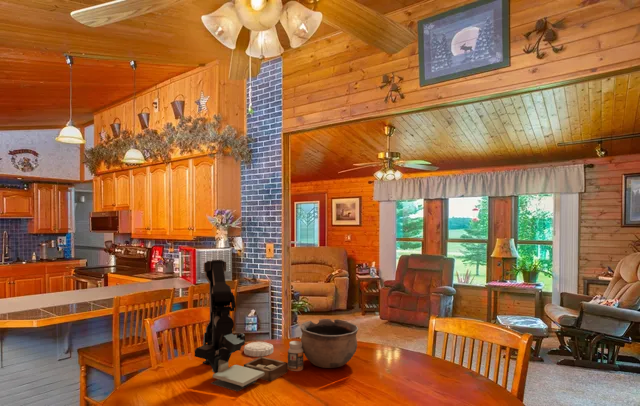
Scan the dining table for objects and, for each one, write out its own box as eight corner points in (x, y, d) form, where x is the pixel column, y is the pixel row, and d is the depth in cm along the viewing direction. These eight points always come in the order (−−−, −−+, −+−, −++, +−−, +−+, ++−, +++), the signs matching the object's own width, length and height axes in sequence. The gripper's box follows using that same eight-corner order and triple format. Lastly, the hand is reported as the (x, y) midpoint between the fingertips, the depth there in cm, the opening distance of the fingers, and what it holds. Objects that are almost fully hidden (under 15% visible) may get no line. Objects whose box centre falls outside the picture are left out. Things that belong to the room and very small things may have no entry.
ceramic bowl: (345, 353, 174) (345, 317, 175) (367, 372, 154) (367, 331, 154) (293, 358, 167) (294, 320, 168) (309, 378, 147) (310, 335, 147)
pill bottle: (301, 373, 152) (301, 345, 152) (285, 371, 153) (286, 344, 153) (304, 367, 157) (305, 340, 158) (289, 366, 158) (290, 339, 159)
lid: (204, 378, 141) (204, 365, 141) (227, 368, 150) (227, 356, 151) (242, 390, 132) (242, 376, 132) (264, 378, 142) (264, 366, 142)
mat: (210, 385, 140) (210, 383, 140) (231, 375, 149) (231, 373, 149) (237, 393, 134) (237, 391, 134) (257, 382, 142) (257, 380, 142)
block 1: (254, 374, 149) (254, 367, 149) (258, 371, 151) (258, 364, 152) (261, 375, 148) (261, 368, 148) (265, 372, 150) (265, 365, 150)
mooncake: (238, 353, 173) (238, 344, 173) (262, 347, 181) (262, 339, 181) (254, 361, 164) (254, 351, 164) (279, 354, 172) (279, 345, 173)
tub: (243, 375, 148) (243, 364, 148) (261, 367, 157) (261, 356, 157) (270, 383, 142) (270, 371, 142) (287, 373, 151) (287, 362, 151)
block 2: (265, 373, 150) (265, 366, 150) (272, 371, 152) (272, 364, 152) (270, 375, 147) (270, 368, 148) (277, 373, 150) (277, 366, 150)
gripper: (218, 336, 133) (217, 386, 133) (256, 323, 149) (255, 368, 149) (193, 330, 139) (192, 378, 138) (232, 319, 155) (232, 361, 154)
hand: (220, 371), depth 145 cm, fingers closed on lid, 4 cm apart
